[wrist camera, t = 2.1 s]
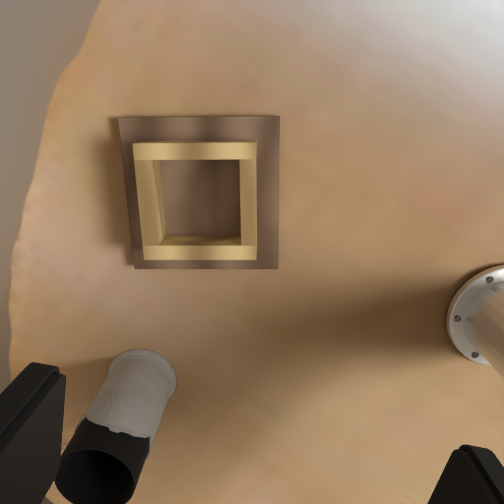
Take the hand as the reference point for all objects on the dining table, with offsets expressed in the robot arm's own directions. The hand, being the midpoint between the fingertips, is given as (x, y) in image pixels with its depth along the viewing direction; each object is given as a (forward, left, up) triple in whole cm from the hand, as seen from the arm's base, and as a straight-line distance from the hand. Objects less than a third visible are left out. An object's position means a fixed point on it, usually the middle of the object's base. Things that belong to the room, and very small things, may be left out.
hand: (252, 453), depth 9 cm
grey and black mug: (+16, +26, -35) cm, 47 cm away
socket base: (+6, 0, -35) cm, 35 cm away
